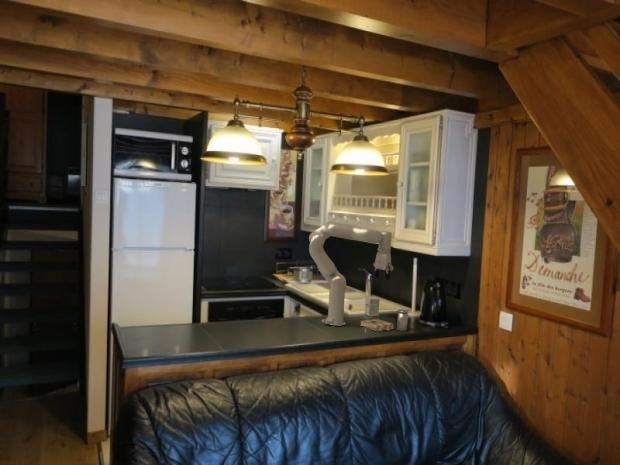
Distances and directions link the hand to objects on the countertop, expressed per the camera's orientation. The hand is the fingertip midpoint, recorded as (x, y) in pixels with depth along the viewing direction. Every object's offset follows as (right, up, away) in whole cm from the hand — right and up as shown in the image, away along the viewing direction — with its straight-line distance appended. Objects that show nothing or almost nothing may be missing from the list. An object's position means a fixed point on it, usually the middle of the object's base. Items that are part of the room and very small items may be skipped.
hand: (381, 278), depth 307 cm
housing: (-4, -30, -6) cm, 31 cm away
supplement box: (-3, -28, +26) cm, 39 cm away
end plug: (+11, -31, -7) cm, 33 cm away
